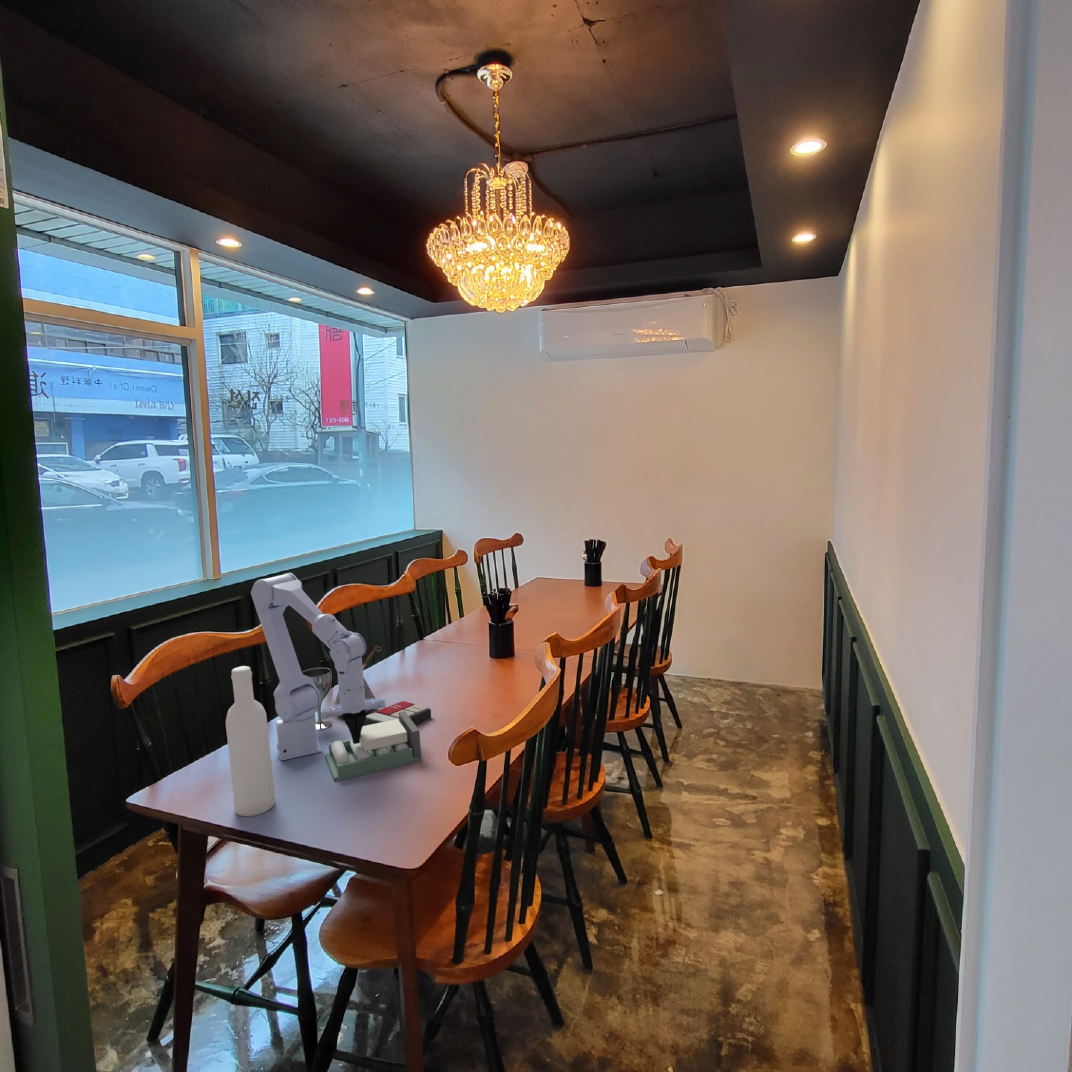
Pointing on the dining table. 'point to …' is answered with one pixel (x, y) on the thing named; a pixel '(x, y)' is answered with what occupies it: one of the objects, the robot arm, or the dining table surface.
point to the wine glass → (320, 690)
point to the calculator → (392, 712)
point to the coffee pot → (366, 688)
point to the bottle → (249, 748)
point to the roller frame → (373, 754)
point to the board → (382, 734)
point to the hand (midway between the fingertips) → (356, 742)
